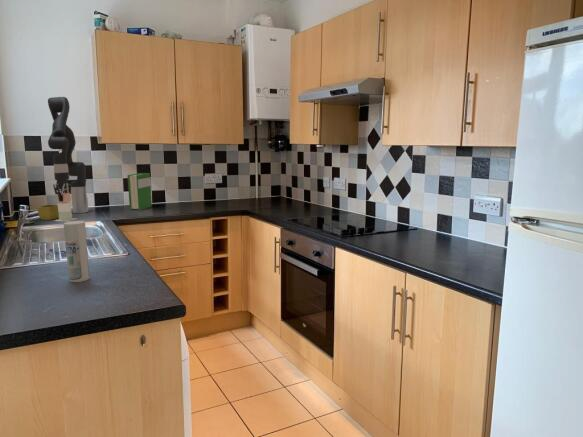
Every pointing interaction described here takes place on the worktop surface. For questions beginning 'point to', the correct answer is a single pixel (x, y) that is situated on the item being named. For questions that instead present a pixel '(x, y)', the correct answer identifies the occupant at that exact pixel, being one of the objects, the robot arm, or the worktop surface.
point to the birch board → (66, 220)
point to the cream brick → (64, 207)
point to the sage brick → (65, 215)
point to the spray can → (76, 251)
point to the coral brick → (65, 197)
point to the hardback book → (139, 191)
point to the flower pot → (48, 212)
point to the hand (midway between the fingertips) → (64, 200)
